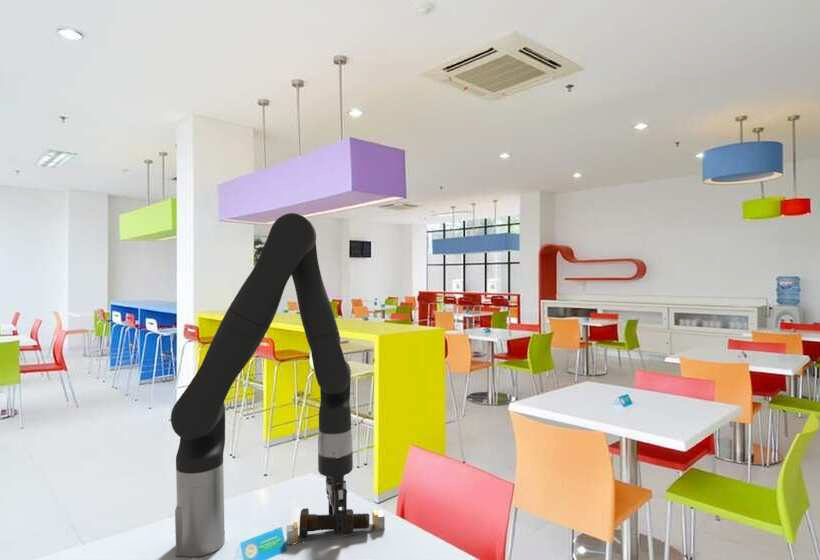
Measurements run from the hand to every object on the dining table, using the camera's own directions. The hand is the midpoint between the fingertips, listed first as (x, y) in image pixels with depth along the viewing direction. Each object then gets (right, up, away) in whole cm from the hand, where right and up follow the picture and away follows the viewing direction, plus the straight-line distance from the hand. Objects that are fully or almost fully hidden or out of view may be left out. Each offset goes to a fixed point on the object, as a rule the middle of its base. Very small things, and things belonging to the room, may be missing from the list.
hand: (336, 524), depth 111 cm
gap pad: (0, -2, 0) cm, 2 cm away
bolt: (0, -2, 0) cm, 2 cm away
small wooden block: (+9, -2, +3) cm, 10 cm away
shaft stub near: (-9, -2, -3) cm, 10 cm away
